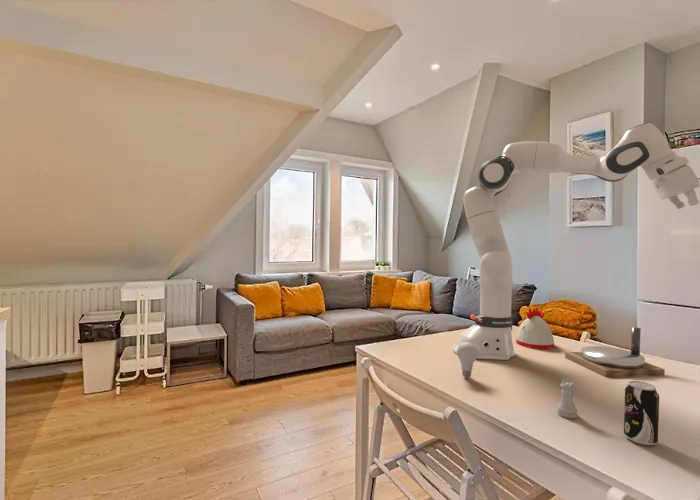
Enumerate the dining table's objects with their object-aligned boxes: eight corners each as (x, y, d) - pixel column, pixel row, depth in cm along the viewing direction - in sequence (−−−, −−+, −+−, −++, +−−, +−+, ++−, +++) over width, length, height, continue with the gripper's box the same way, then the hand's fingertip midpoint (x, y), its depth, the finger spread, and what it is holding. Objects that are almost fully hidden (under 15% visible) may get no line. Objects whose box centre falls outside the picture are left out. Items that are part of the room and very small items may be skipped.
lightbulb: (477, 375, 116) (477, 340, 115) (477, 382, 110) (477, 346, 110) (456, 373, 118) (457, 338, 117) (455, 380, 112) (456, 344, 112)
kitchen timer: (509, 340, 157) (509, 305, 157) (536, 339, 160) (537, 304, 160) (532, 350, 144) (533, 311, 143) (562, 348, 147) (563, 310, 146)
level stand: (605, 376, 116) (605, 369, 116) (565, 357, 135) (565, 351, 135) (664, 375, 117) (664, 368, 117) (616, 356, 136) (616, 350, 136)
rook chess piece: (552, 410, 92) (553, 379, 92) (569, 410, 92) (570, 378, 92) (564, 419, 88) (565, 386, 87) (582, 419, 88) (583, 385, 88)
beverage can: (616, 433, 81) (618, 379, 81) (641, 433, 82) (643, 379, 81) (638, 448, 76) (640, 390, 75) (665, 447, 76) (667, 389, 76)
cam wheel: (599, 367, 118) (600, 332, 118) (571, 350, 136) (572, 320, 135) (662, 369, 116) (663, 334, 116) (626, 352, 134) (627, 322, 134)
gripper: (641, 179, 130) (663, 214, 127) (665, 167, 111) (691, 207, 108) (661, 170, 127) (684, 205, 125) (689, 156, 109) (716, 197, 106)
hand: (688, 206), depth 117 cm, fingers open, 8 cm apart
